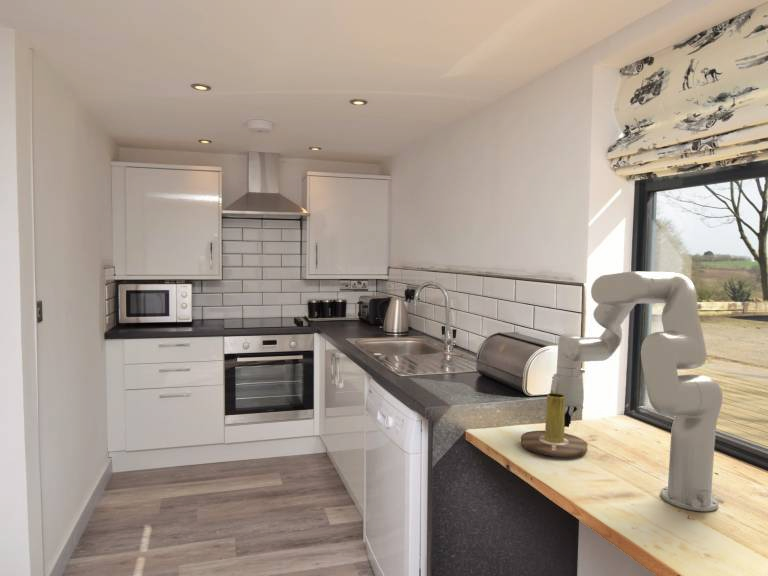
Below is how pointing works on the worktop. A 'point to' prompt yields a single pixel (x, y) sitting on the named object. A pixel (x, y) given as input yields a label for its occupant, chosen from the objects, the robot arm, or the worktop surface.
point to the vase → (555, 418)
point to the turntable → (554, 444)
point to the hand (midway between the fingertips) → (565, 425)
